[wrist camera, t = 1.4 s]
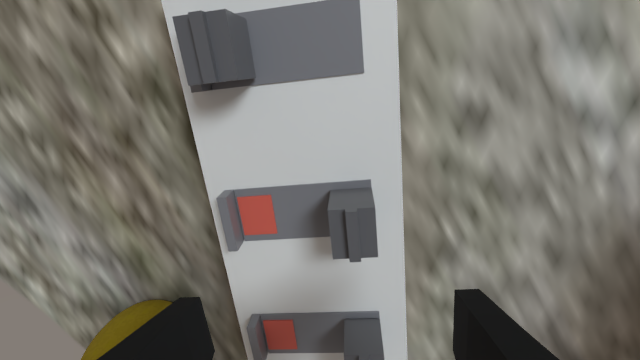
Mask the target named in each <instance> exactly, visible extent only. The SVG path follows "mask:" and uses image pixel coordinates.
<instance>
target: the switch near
mask: <svg viewBox="0 0 640 360" xmlns="http://www.w3.org/2000/svg"><path fill="white" fill-rule="evenodd" d="M172 18H173V22H174V27H175V31H176V35H177V39H178V44H179V48H180V52H181V56H182V61H183V65H184V69H185V73H186V78H187V82H188V86H190V85H200V84H209V83H218V82H227V81H235V80H244V79H252V78H256V75H255V69H254V63H253V57H252V51H251V45H250V39H249V33H248V27H247V21H246V19H245V18H243V17H241V16H239V15H237V14H235V13H233V12H231V11H229V10H227V9H221V10H214V11H207V12H204V11H202V10H200V11H193V12H188V14H187V15H180V16H173V17H172Z"/></svg>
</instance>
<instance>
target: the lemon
mask: <svg viewBox="0 0 640 360" xmlns="http://www.w3.org/2000/svg"><path fill="white" fill-rule="evenodd" d="M170 304H172V302H169V301H165V300H149V301H143V302H140V303H137V304H135V305H133V306H131V307H129V308H127V309H125V310H123V311H122V312H120V313H119V314H118V315H116V316H115V317H114V318H113V319H112V320H111V321H110V322H109V323H108V324H107V325H106V326H105V327H104V328H103V329H102V330H101V331H100V332H99V333H98V334H97V335H96V336H95V338H94V339H93V340H92V342H91V343H90V345H89V346H88V348H87V349H86V351H85V353H84V355H83V357H82V359H81V360H97V359H98V358H99V357H101V356H102V355H104V354H105V353H106V352H108V351H109V350H110V349H112V348H113V347H114V346H116V345H117V344H118V343H120V342H121V341H122V340H124V339H125V338H126V337H128V336H129V335H130V334H132V333H133V332H134V331H136V330H137V329H138V328H140V327H141V326H142V325H143V324H145V323H146V322H147V321H149V320H150V319H151V318H153V317H154V316H155V315H157V314H158V313H159V312H161V311H162V310H163V309H165V308H166V307H168V306H169V305H170Z"/></svg>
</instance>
